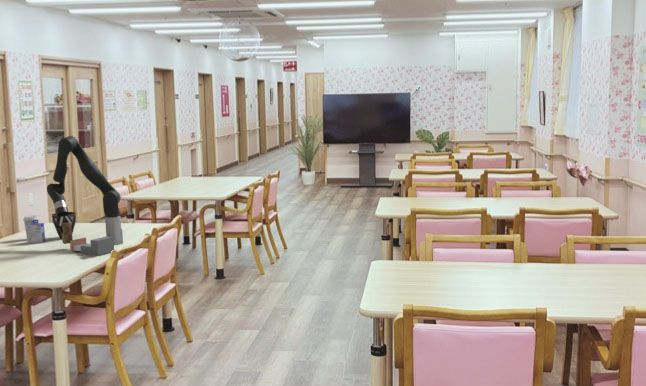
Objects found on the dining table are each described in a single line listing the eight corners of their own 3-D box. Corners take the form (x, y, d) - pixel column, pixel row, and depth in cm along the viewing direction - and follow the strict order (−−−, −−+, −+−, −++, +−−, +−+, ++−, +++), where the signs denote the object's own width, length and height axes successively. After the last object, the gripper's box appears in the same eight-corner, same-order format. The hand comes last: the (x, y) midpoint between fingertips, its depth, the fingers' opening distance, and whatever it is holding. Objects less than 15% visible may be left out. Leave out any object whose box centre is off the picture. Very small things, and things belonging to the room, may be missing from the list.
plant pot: (64, 240, 469) (62, 216, 467) (48, 238, 477) (46, 214, 475) (82, 236, 482) (80, 212, 480) (66, 234, 489) (65, 211, 487)
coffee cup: (34, 240, 472) (33, 217, 470) (21, 240, 474) (19, 217, 472) (43, 237, 481) (41, 215, 479) (30, 237, 483) (28, 215, 481)
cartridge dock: (81, 253, 427) (80, 238, 426) (96, 249, 437) (96, 235, 436) (98, 256, 419) (97, 240, 418) (114, 252, 430) (113, 237, 428)
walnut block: (71, 241, 446) (69, 222, 444) (72, 242, 442) (71, 223, 440) (62, 242, 443) (60, 223, 442) (64, 244, 439) (62, 224, 437)
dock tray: (70, 250, 432) (69, 240, 432) (85, 247, 442) (84, 237, 441) (82, 252, 427) (81, 242, 426) (96, 248, 436) (96, 238, 436)
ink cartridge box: (45, 241, 468) (44, 219, 466) (42, 243, 463) (40, 220, 461) (30, 241, 468) (28, 219, 466) (27, 243, 463) (25, 220, 461)
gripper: (49, 207, 443) (55, 229, 434) (73, 204, 450) (80, 226, 441) (48, 214, 448) (54, 236, 439) (72, 212, 455) (78, 233, 446)
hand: (67, 231), depth 440 cm, fingers closed on walnut block, 5 cm apart
